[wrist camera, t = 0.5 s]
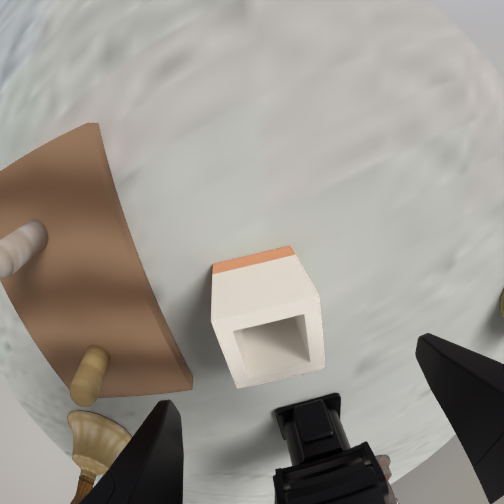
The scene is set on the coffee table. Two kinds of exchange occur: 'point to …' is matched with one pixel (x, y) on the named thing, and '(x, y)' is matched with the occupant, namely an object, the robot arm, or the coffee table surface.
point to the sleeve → (266, 317)
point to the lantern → (387, 477)
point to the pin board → (83, 274)
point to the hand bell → (94, 447)
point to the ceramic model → (502, 305)
